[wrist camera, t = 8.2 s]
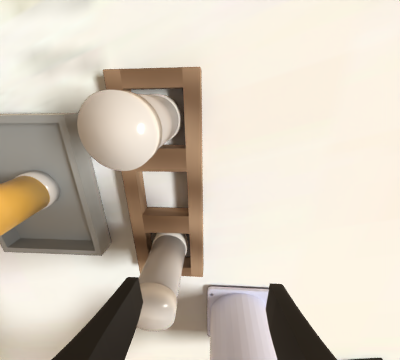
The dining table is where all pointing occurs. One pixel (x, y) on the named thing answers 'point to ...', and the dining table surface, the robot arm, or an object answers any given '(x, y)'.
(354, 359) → the remote control
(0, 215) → the amber fuse
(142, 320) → the cylinder
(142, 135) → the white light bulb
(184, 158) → the brown wooden rack
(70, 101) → the dining table surface
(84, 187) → the tray
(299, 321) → the robot arm
